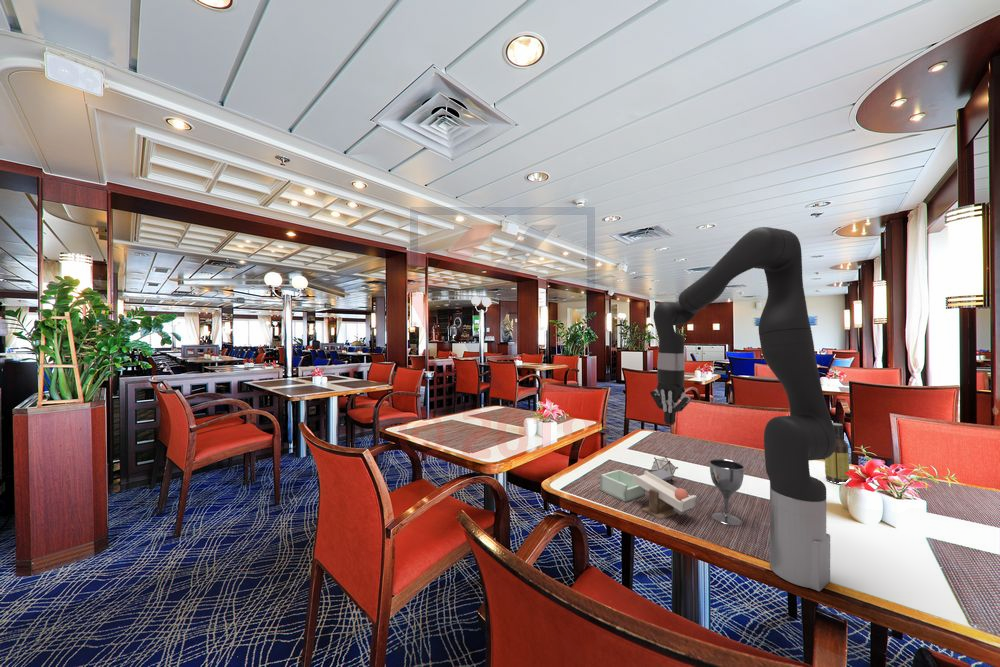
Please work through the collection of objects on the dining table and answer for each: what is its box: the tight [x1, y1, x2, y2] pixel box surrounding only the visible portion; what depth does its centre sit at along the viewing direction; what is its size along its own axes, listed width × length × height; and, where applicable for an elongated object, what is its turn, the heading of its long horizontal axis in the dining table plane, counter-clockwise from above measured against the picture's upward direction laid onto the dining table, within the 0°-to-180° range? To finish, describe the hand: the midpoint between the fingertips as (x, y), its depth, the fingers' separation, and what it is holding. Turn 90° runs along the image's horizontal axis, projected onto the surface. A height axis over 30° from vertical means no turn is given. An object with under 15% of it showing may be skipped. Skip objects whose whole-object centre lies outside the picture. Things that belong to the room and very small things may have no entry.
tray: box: [599, 469, 646, 503], centre depth 117 cm, size 10×9×5 cm
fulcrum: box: [641, 485, 678, 521], centre depth 105 cm, size 6×10×6 cm, turn 122°
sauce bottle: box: [824, 422, 850, 483], centre depth 126 cm, size 6×6×20 cm
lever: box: [632, 469, 698, 515], centre depth 107 cm, size 16×14×4 cm
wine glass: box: [709, 458, 745, 526], centre depth 100 cm, size 8×8×15 cm
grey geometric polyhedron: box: [648, 455, 679, 482], centre depth 126 cm, size 9×8×10 cm
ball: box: [675, 487, 689, 501], centre depth 100 cm, size 3×3×3 cm
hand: (669, 424), depth 112 cm, fingers closed
